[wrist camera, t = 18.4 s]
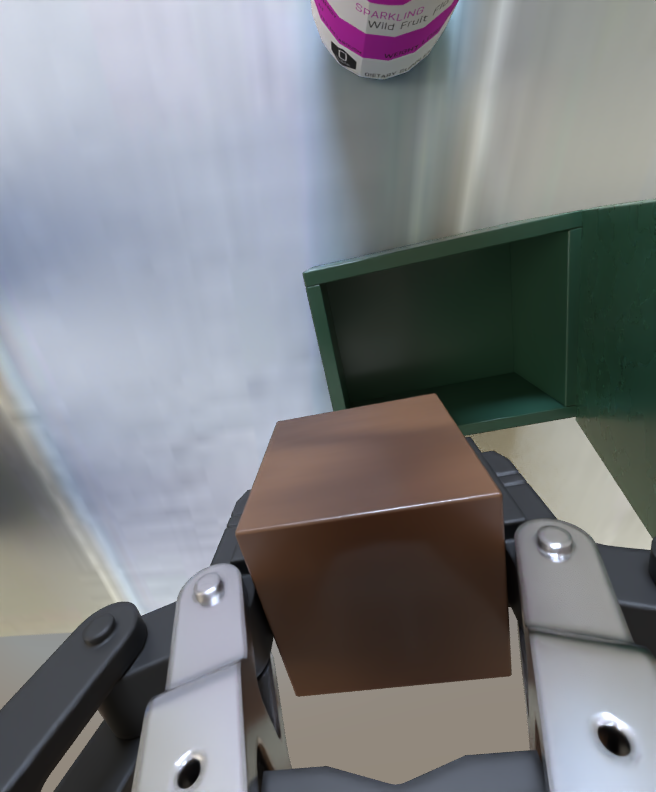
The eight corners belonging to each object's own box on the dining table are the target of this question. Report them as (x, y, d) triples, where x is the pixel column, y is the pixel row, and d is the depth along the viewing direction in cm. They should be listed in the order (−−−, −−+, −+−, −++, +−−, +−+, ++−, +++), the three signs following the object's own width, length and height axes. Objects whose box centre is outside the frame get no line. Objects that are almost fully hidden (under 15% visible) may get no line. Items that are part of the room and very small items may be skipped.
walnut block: (311, 543, 12) (295, 698, 8) (276, 420, 11) (232, 533, 6) (451, 523, 12) (512, 677, 8) (436, 392, 10) (503, 493, 6)
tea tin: (342, 409, 31) (343, 456, 24) (311, 267, 27) (302, 272, 20) (519, 376, 30) (578, 416, 22) (515, 221, 26) (585, 209, 18)
